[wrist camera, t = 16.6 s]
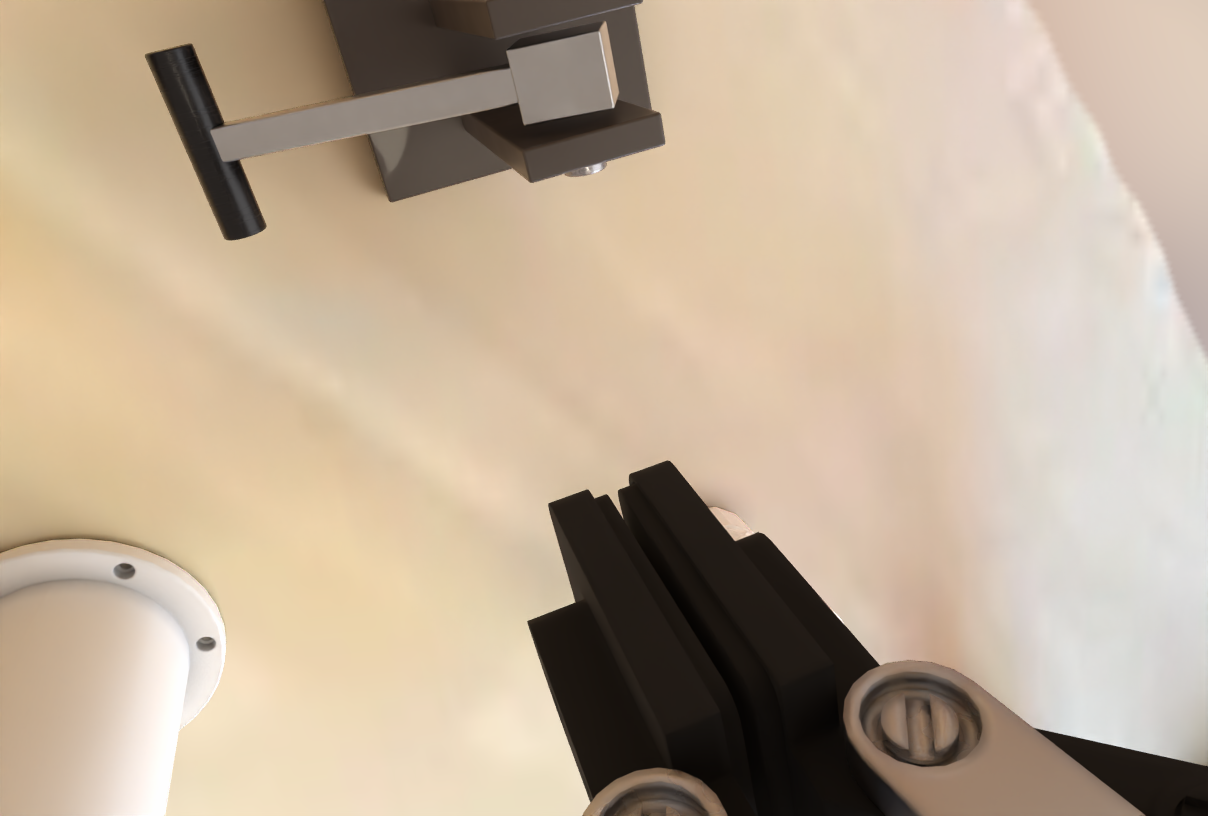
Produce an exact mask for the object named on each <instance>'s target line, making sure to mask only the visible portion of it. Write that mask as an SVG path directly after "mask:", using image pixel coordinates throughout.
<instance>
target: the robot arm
mask: <svg viewBox="0 0 1208 816" xmlns="http://www.w3.org/2000/svg"><path fill="white" fill-rule="evenodd" d="M629 484H630V486H628V487H625V488H622V489H620V490H618V497H619V502H620V506H621V510H622V514H623V518H622V516H621V515H620V513H619V512H618V510H617V508H616V507H615V505H614V504H613V502H612V500H611V499H610V497H609V496H608V495H607V494H606V495H603V496H600V497H598V498H595V499H594V497H593V496H592V494H591V493H590V491H589V490H584V491H582V492H579V493H576V494H573V495H570V496H568V497H565V498H562V499H559V500H557V501H554V502H551V503H549V504H548V506H549V511H550V515H551V519H552V522H553V525H554V529H555V532H556V536H557V539H558V543H559V546H560V550H561V553H562V557H563V560H564V564H565V567H566V570H567V574H568V577H569V581H570V584H571V588H572V591H573V595H574V598H575V602H576V603H573V604H571V605H568V606H566V607H563V608H560V609H558V610H555V611H553V612H550V613H547V614H545V615H542V616H540V617H537V618H534V619H532V620H529V621H527V622H528V626H529V629H530V632H531V635H532V638H533V641H534V644H535V647H536V650H537V653H538V656H539V659H540V662H541V665H542V668H543V671H544V674H545V677H546V680H547V683H548V686H549V689H550V691H551V694H552V697H553V700H554V703H555V706H556V709H557V711H558V714H559V717H560V720H561V723H562V725H563V728H564V731H565V734H566V736H567V739H568V742H569V745H570V747H571V750H572V753H573V756H574V758H575V761H576V764H577V767H578V769H579V772H580V775H581V778H582V780H583V783H584V786H585V789H586V791H587V794H588V797H589V800H590V802H591V803H590V805H589V806H588V807H587V809H586V810H585V812H584V813H583V816H1208V766H1203V765H1199V764H1194V763H1190V762H1185V761H1181V760H1176V759H1171V758H1167V757H1162V756H1158V755H1153V754H1149V753H1144V752H1140V751H1135V750H1131V749H1126V748H1122V747H1117V746H1113V745H1108V744H1103V743H1099V742H1094V741H1090V740H1085V739H1081V738H1076V737H1072V736H1067V735H1063V734H1058V733H1054V732H1049V731H1045V730H1040V729H1035V728H1033V727H1032V726H1030V725H1029V724H1028V723H1026V722H1025V721H1024V720H1023V719H1021V718H1020V717H1019V716H1018V715H1016V714H1015V713H1014V712H1012V711H1011V710H1010V709H1009V708H1007V707H1006V706H1005V705H1003V704H1002V703H1001V702H1000V701H998V700H997V699H996V698H994V697H993V696H992V695H991V694H989V693H988V692H987V691H986V690H984V689H983V688H982V687H980V686H979V685H978V684H977V683H975V682H974V681H972V680H971V679H969V678H967V677H966V676H964V675H962V674H961V673H959V672H957V671H956V670H954V669H951V668H948V667H945V666H942V665H938V664H935V663H932V662H923V661H912V660H906V661H899V662H892V663H886V664H883V665H881V666H880V665H879V664H878V663H877V662H876V660H875V659H874V658H873V657H872V656H871V655H870V653H869V652H868V651H867V650H866V649H865V648H864V647H863V645H862V644H861V643H860V642H859V641H858V640H857V639H856V637H855V636H854V635H853V634H852V633H851V632H850V631H849V629H848V628H847V627H846V626H845V625H844V624H843V623H842V621H841V620H840V619H839V618H838V617H837V616H836V615H835V613H834V612H833V611H832V610H831V609H830V608H829V607H828V605H827V604H826V603H825V602H824V601H823V600H822V598H821V597H820V596H819V595H818V594H817V593H816V592H815V590H814V589H813V588H812V587H811V586H810V585H809V584H808V582H807V581H806V580H805V579H804V578H803V577H802V576H801V574H800V573H799V572H798V571H797V570H796V569H795V568H794V566H793V565H792V564H791V563H790V562H789V561H788V560H787V558H786V557H785V556H784V555H783V554H782V553H781V551H780V550H779V549H778V548H777V547H776V546H775V545H774V543H773V542H772V541H771V540H770V539H769V538H768V537H767V536H765V535H764V534H762V533H759V532H757V533H755V534H752V535H750V536H747V537H744V538H742V539H739V540H737V541H735V540H734V539H733V538H732V537H731V535H730V534H729V533H728V532H727V530H726V529H725V528H724V527H723V525H722V524H721V523H720V522H719V520H718V519H717V518H716V517H715V516H714V514H713V513H712V512H711V511H710V509H709V508H708V507H707V506H706V504H705V503H704V502H703V501H702V499H701V498H700V497H699V496H698V494H697V493H696V492H695V491H694V489H693V488H692V487H691V486H690V484H689V483H688V482H687V481H686V480H685V478H684V477H683V476H682V475H681V473H680V472H679V471H678V470H677V468H676V467H675V466H674V465H673V464H672V463H671V462H670V461H665V462H662V463H659V464H656V465H654V466H651V467H648V468H645V469H643V470H640V471H637V472H634V473H631V474H630V475H629ZM623 519H624V520H623ZM126 563H128V564H126ZM225 651H226V637H225V628H224V623H223V620H222V618H221V615H220V612H219V610H218V607H217V605H216V604H215V602H214V601H213V599H212V598H211V596H210V595H209V594H208V592H207V591H206V589H205V588H204V587H203V586H202V585H201V584H200V583H199V582H198V581H197V580H196V579H194V578H193V577H192V576H191V575H190V574H189V573H188V572H187V571H185V570H183V569H182V568H180V567H179V566H177V565H175V564H174V563H172V562H171V561H169V560H168V559H166V558H163V557H161V556H158V555H156V554H154V553H151V552H149V551H146V550H144V549H142V548H138V547H134V546H130V545H125V544H121V543H117V542H113V541H103V540H93V539H62V540H49V541H44V542H39V543H33V544H28V545H23V546H19V547H16V548H14V549H11V550H8V551H5V552H2V553H0V816H165V812H166V806H167V800H168V794H169V788H170V782H171V776H172V769H173V763H174V757H175V751H176V745H177V739H178V733H179V730H180V729H181V728H183V727H184V726H185V725H186V724H188V723H189V722H190V721H191V720H193V719H194V718H195V717H196V716H197V714H198V713H199V712H200V711H201V710H202V709H203V707H204V706H205V705H206V704H207V703H208V702H209V700H210V698H211V697H212V695H213V693H214V691H215V689H216V688H217V686H218V684H219V681H220V677H221V674H222V670H223V667H224V661H225Z"/></svg>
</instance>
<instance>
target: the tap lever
mask: <svg viewBox="0 0 1208 816" xmlns="http://www.w3.org/2000/svg"><path fill="white" fill-rule="evenodd" d="M506 54H507V58H508V62H509V63H507V64H503V65H498V66H493V67H488V68H483V69H479V70H474V71H469V72H464V73H459V74H455V75H450V76H445V77H440V78H435V79H431V80H426V81H421V82H416V83H411V84H407V85H402V86H397V87H392V88H388V89H383V90H378V91H373V92H368V93H364V94H359V95H354V96H349V97H344V98H340V99H335V100H330V101H325V102H320V103H316V104H311V105H306V106H301V107H296V108H292V109H287V110H282V111H277V112H273V113H268V114H263V115H258V116H253V117H249V118H244V119H239V120H234V121H229V122H225V123H224V120H223V118H222V115H221V113H220V110H219V108H218V105H217V103H216V101H215V98H214V96H213V93H212V91H211V88H210V86H209V83H208V81H207V78H206V76H205V74H204V71H203V69H202V66H201V64H200V61H199V59H198V56H197V54H196V51H195V49H194V47H193V45H192V44H185V45H180V46H176V47H172V48H167V49H163V50H159V51H155V52H151V53H148V54H145V58H146V60H147V62H148V65H149V67H150V69H151V71H152V74H153V76H154V78H155V81H156V83H157V85H158V87H159V90H160V92H161V94H162V97H163V99H164V101H165V104H166V106H167V108H168V110H169V113H170V115H171V117H172V120H173V122H174V124H175V126H176V129H177V131H178V133H179V136H180V138H181V140H182V143H183V145H184V147H185V149H186V152H187V154H188V156H189V159H190V161H191V163H192V165H193V168H194V170H195V172H196V175H197V177H198V179H199V181H200V184H201V186H202V188H203V191H204V193H205V195H206V198H207V200H208V202H209V204H210V207H211V209H212V211H213V214H214V216H215V218H216V220H217V223H218V225H219V227H220V230H221V232H222V234H223V237H224V239H225V240H238V239H242V238H246V237H249V236H252V235H255V234H257V233H259V232H261V231H263V230H264V229H265V228H266V223H265V221H264V218H263V216H262V213H261V211H260V208H259V206H258V204H257V201H256V199H255V196H254V194H253V191H252V189H251V186H250V184H249V181H248V179H247V177H246V174H245V172H244V169H243V167H242V164H241V162H240V160H241V159H246V158H251V157H256V156H261V155H266V154H271V153H276V152H281V151H286V150H291V149H296V148H301V147H306V146H311V145H316V144H321V143H326V142H331V141H336V140H341V139H346V138H351V137H356V136H361V135H366V134H371V133H376V132H381V131H386V130H391V129H396V128H401V127H406V126H411V125H416V124H421V123H426V122H431V121H436V120H441V119H446V118H451V117H456V116H461V115H466V114H471V113H476V112H481V111H486V110H491V109H496V108H501V107H506V106H511V105H516V104H519V108H520V112H521V116H522V120H523V124H524V126H529V125H534V124H539V123H544V122H549V121H554V120H560V119H565V118H570V117H575V116H580V115H585V114H590V113H595V112H600V111H606V110H611V109H614V107H615V104H616V101H617V97H618V94H619V90H618V84H617V79H616V73H615V68H614V62H613V57H612V51H611V46H610V40H609V35H608V29H607V24H606V21H600V22H595V23H591V24H586V25H581V26H577V27H572V28H567V29H563V30H558V31H553V32H549V33H544V34H539V35H534V36H530V37H525V38H520V39H519V40H518V41H516V42H515V43H514V44H513V45H512V46H510V47H509V48H508V49H507V50H506Z"/></svg>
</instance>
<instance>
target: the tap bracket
mask: <svg viewBox="0 0 1208 816" xmlns="http://www.w3.org/2000/svg"><path fill="white" fill-rule="evenodd" d="M642 2H643V0H323V3H324V6H325V9H326V12H327V16H328V19H329V22H330V25H331V28H332V31H333V34H334V37H335V40H336V43H337V46H338V49H339V52H340V55H341V58H342V61H343V64H344V67H345V70H346V73H347V76H348V79H349V82H350V85H351V88H352V91H353V94H354V95H359V94H364V93H368V92H373V91H378V90H383V89H388V88H392V87H397V86H402V85H407V84H411V83H416V82H421V81H426V80H431V79H435V78H440V77H445V76H450V75H455V74H459V73H464V72H469V71H474V70H479V69H483V68H488V67H493V66H498V65H503V64H507V63H509V62H508V58H507V54H506V50H507V49H508V48H509V47H510V46H512V45H513V44H514V43H515V42H516V41H518V40H519V39H520V38H525V37H530V36H534V35H539V34H544V33H549V32H553V31H558V30H563V29H567V28H572V27H577V26H581V25H586V24H591V23H595V22H600V21H606V24H607V29H608V35H609V40H610V46H611V51H612V57H613V62H614V68H615V73H616V79H617V84H618V90H619V94H618V97H617V101H616V104H615V107H614V109H611V110H606V111H600V112H595V113H590V114H585V115H580V116H575V117H570V118H565V119H560V120H554V121H549V122H544V123H539V124H534V125H529V126H524V124H523V120H522V116H521V112H520V108H519V104H516V105H511V106H506V107H501V108H496V109H491V110H486V111H481V112H476V113H471V114H466V115H461V116H456V117H451V118H446V119H441V120H436V121H431V122H426V123H421V124H416V125H411V126H406V127H401V128H396V129H391V130H386V131H381V132H376V133H371V134H367V137H368V140H369V143H370V146H371V149H372V152H373V155H374V158H375V161H376V164H377V167H378V170H379V173H380V176H381V179H382V182H383V185H384V188H385V191H386V194H387V197H388V199H389V201H390V202H395V201H398V200H402V199H406V198H409V197H413V196H416V195H420V194H423V193H427V192H430V191H434V190H438V189H441V188H445V187H448V186H452V185H455V184H459V183H462V182H466V181H470V180H473V179H477V178H480V177H484V176H487V175H491V174H494V173H498V172H502V171H505V170H509V169H512V168H513V169H514V170H515V171H516V172H518V173H519V174H520V175H521V176H523V177H524V178H525V179H526V180H528V181H529V182H530V183H534V182H537V181H541V180H544V179H548V178H551V177H555V176H558V175H562V174H565V175H566V176H569V177H579V176H585V175H590V174H593V173H596V172H599V171H601V170H603V169H604V168H605V167H606V165H607V163H606V162H607V161H611V160H614V159H618V158H621V157H625V156H628V155H632V154H635V153H639V152H642V151H646V150H649V149H653V148H656V147H660V146H663V145H664V144H665V137H664V131H663V125H662V119H661V114H660V113H659V112H656V111H653V110H652V109H651V103H650V97H649V91H648V85H647V79H646V73H645V67H644V61H643V55H642V49H641V43H640V37H639V31H638V25H637V19H636V13H635V7H634V5H637V4H641V3H642Z"/></svg>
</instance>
